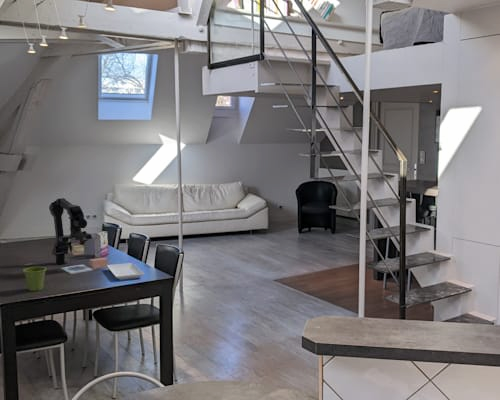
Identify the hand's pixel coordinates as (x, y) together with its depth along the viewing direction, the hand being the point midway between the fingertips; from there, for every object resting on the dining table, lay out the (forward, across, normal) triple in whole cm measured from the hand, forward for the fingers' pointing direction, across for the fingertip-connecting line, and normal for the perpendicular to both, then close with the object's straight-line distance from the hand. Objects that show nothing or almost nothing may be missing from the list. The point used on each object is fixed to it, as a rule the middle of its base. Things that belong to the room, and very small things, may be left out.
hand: (76, 251), depth 341 cm
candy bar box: (+12, +28, +27) cm, 41 cm away
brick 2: (+12, +14, -1) cm, 18 cm away
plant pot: (+12, -34, -29) cm, 46 cm away
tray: (+12, +18, -29) cm, 36 cm away
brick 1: (+1, 0, 0) cm, 1 cm away
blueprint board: (+12, 0, 0) cm, 12 cm away
